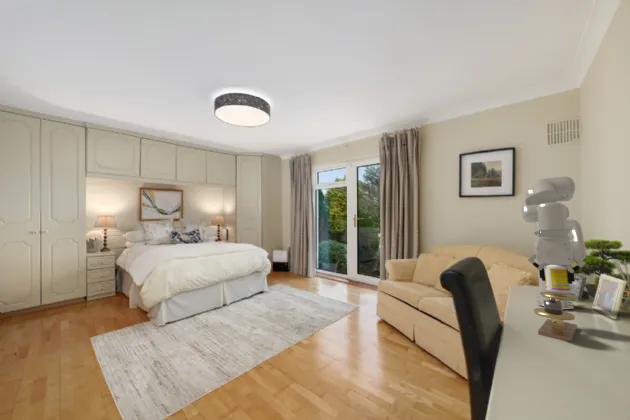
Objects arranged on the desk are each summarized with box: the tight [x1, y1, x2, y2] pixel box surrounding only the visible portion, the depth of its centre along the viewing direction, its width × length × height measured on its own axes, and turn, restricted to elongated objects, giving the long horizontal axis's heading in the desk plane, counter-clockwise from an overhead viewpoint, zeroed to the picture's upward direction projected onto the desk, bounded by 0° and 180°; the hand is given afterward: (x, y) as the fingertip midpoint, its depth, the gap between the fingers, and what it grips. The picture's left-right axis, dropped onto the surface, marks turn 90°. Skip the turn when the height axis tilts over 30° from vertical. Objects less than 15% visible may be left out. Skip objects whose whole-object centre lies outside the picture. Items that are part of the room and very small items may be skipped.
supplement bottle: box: [544, 264, 571, 294], centre depth 93 cm, size 7×7×13 cm
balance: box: [533, 291, 579, 343], centre depth 88 cm, size 23×10×12 cm, turn 129°
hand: (556, 281), depth 93 cm, fingers closed on supplement bottle, 6 cm apart
